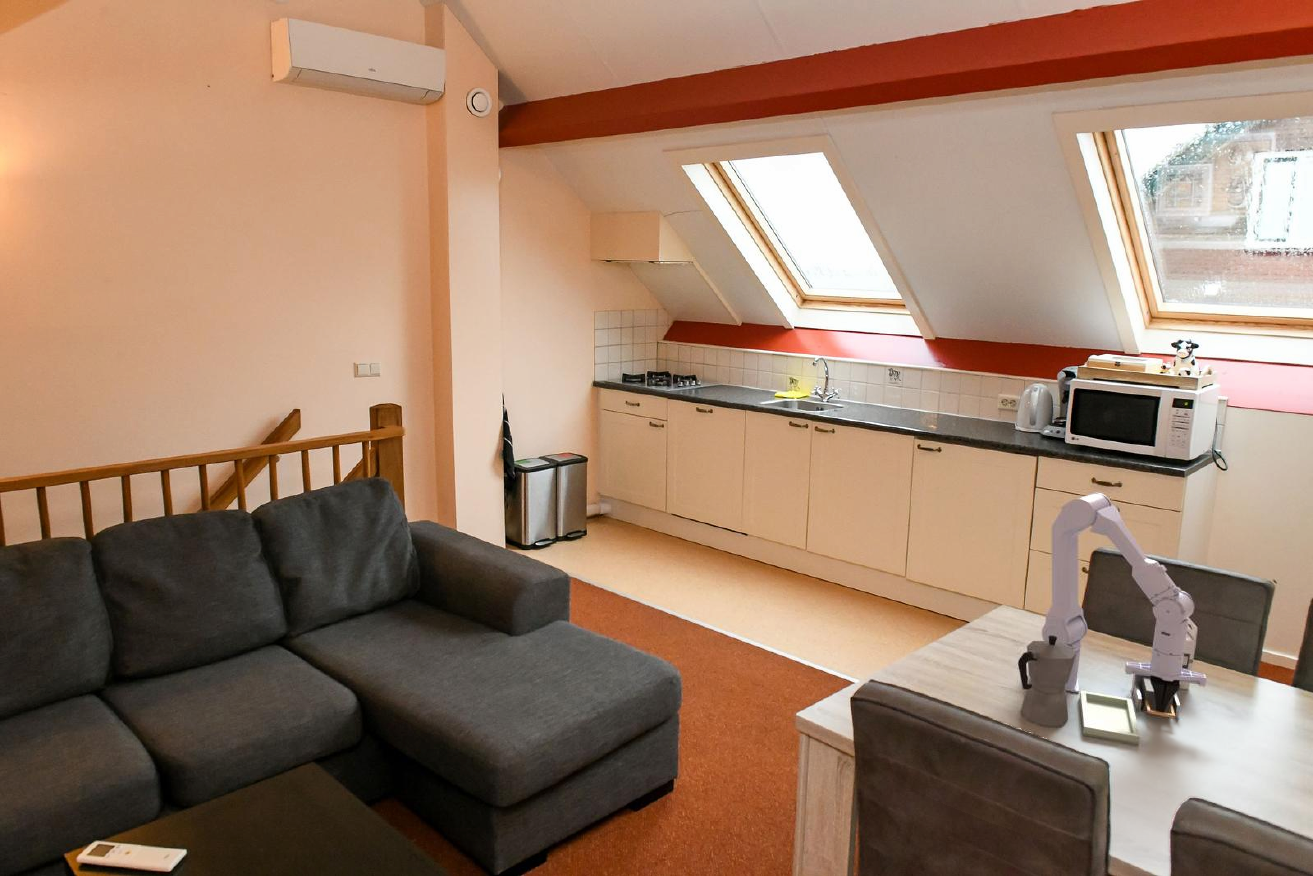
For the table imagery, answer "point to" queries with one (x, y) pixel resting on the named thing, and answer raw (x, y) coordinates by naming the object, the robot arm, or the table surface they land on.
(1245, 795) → the table surface
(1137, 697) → the steel bay
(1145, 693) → the orange handle block
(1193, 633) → the ink box
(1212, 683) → the table surface
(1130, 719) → the green tray
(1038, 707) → the coffeepot
